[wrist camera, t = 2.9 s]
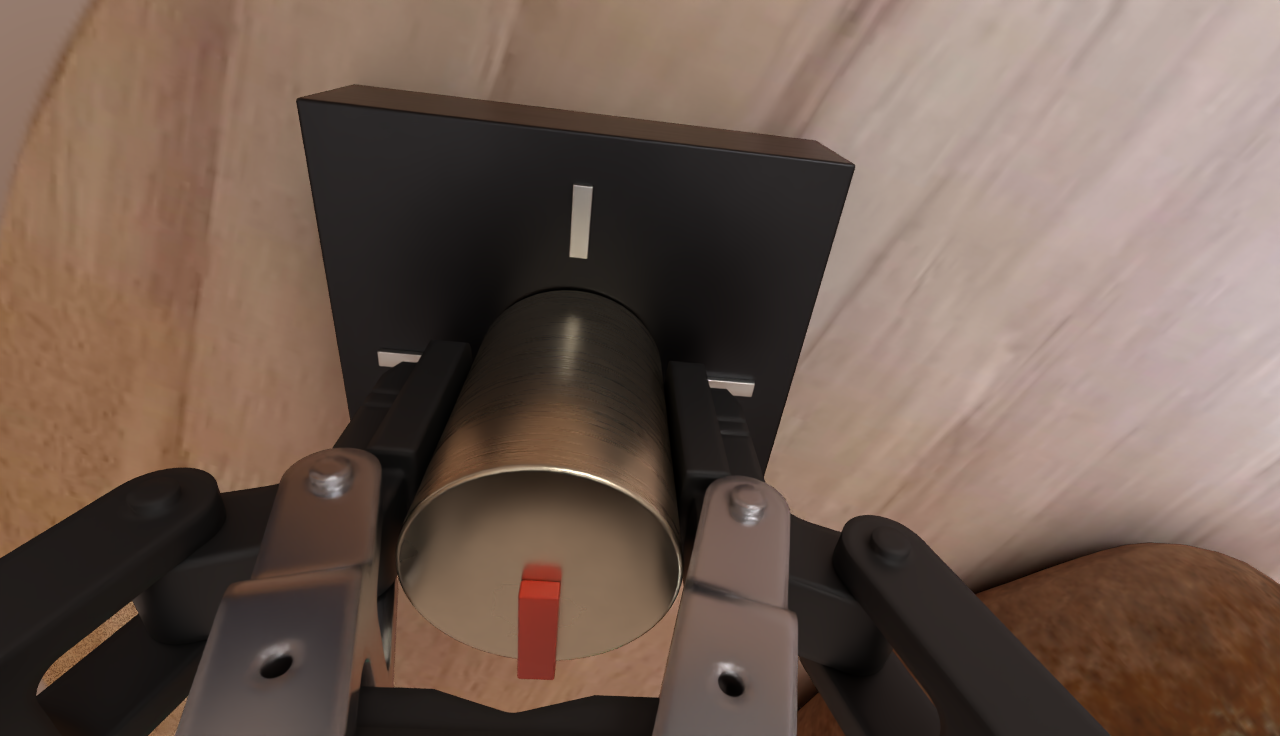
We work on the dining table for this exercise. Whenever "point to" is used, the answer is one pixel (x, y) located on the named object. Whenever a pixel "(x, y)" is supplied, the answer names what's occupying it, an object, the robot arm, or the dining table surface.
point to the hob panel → (568, 231)
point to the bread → (1144, 641)
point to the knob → (550, 491)
